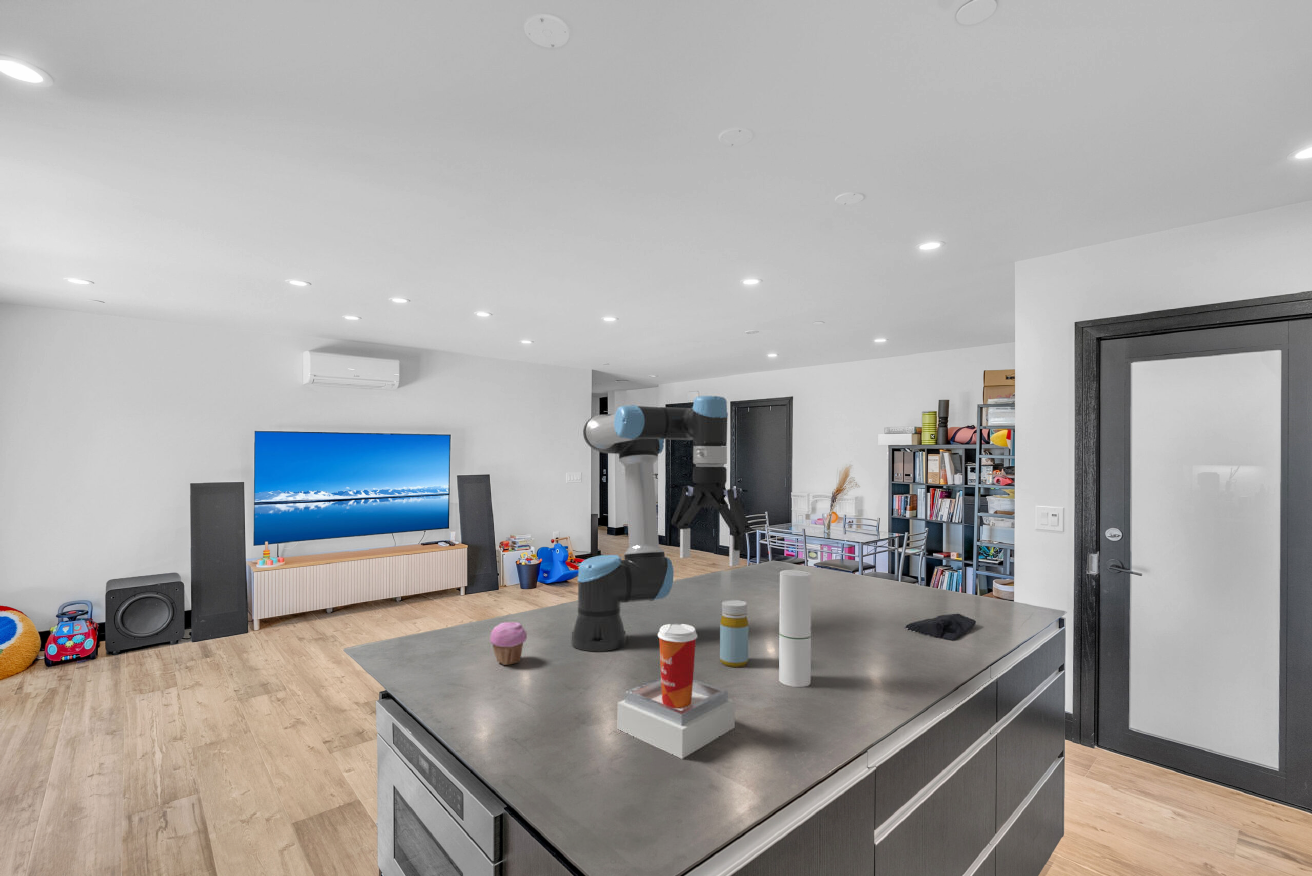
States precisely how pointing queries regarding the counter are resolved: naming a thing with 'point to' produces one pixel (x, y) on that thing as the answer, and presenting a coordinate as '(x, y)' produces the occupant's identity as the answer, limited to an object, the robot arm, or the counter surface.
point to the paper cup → (677, 664)
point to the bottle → (734, 633)
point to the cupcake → (508, 642)
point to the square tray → (676, 717)
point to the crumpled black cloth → (943, 626)
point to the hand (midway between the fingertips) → (708, 561)
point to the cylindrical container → (795, 628)
